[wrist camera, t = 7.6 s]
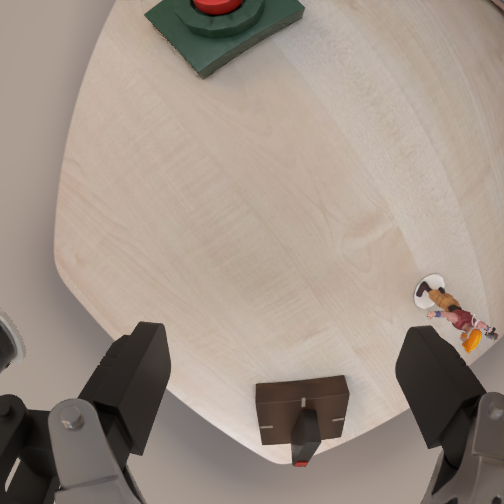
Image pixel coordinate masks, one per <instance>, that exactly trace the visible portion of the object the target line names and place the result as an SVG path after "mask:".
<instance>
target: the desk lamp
mask: <svg viewBox="0 0 504 504" xmlns="http://www.w3.org/2000/svg"><path fill="white" fill-rule="evenodd" d="M491 1H493V2H494V3H495V4H496V5H498V6H499V7H500V8H501V9H503V10H504V0H491Z"/></svg>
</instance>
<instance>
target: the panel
mask: <svg viewBox="0 0 504 504" xmlns="http://www.w3.org/2000/svg"><path fill="white" fill-rule="evenodd" d="M349 394H350V393H349V389H348V386H347V383H346V380H345V377H344V375H342V376H335V377H328V378H320V379H312V380H303V381H293V382H281V383H267V384H256V402H255V403H256V410H257V416H258V422H259V429H260V435H261V441H262V445H275V444H289V443H291V434H292V432H293V430H294V428H295V425H296V423H297V421H298V419H299V417H300V414H301V412H302V410H316V411H317V417H318V423H319V429H320V436H321V440H325V439H332V438H338V437H341V435H342V430H343V425H344V421H345V416H346V411H347V405H348V400H349Z"/></svg>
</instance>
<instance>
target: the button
mask: <svg viewBox="0 0 504 504" xmlns="http://www.w3.org/2000/svg"><path fill="white" fill-rule="evenodd" d="M193 1H194V3H195V5H196V7H197V8H198V9H199V10H200V11H202V12H204V13H207V14H211V15H219V14H225V13H228V12H230V11H232V10H234V9H236V8H237V7H238V6H239V5H240V4H241V2H242V1H243V0H193Z"/></svg>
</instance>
